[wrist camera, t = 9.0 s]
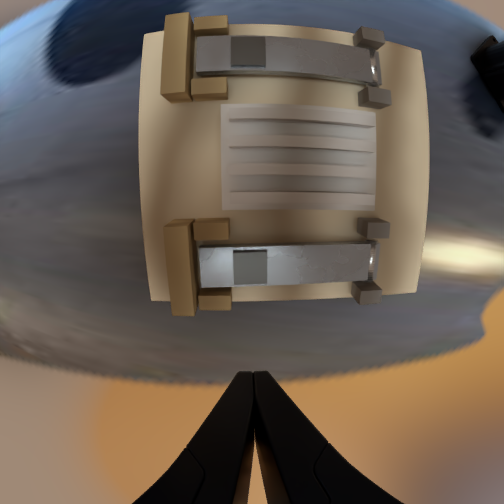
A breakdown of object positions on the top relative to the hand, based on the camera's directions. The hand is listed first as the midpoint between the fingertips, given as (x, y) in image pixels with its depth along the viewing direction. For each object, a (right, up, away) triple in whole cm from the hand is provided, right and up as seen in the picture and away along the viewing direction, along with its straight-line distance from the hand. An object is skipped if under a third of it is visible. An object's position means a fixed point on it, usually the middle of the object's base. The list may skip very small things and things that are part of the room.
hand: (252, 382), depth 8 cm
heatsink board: (+3, +10, +10) cm, 15 cm away
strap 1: (+2, +16, +7) cm, 17 cm away
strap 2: (+3, +3, +11) cm, 11 cm away
